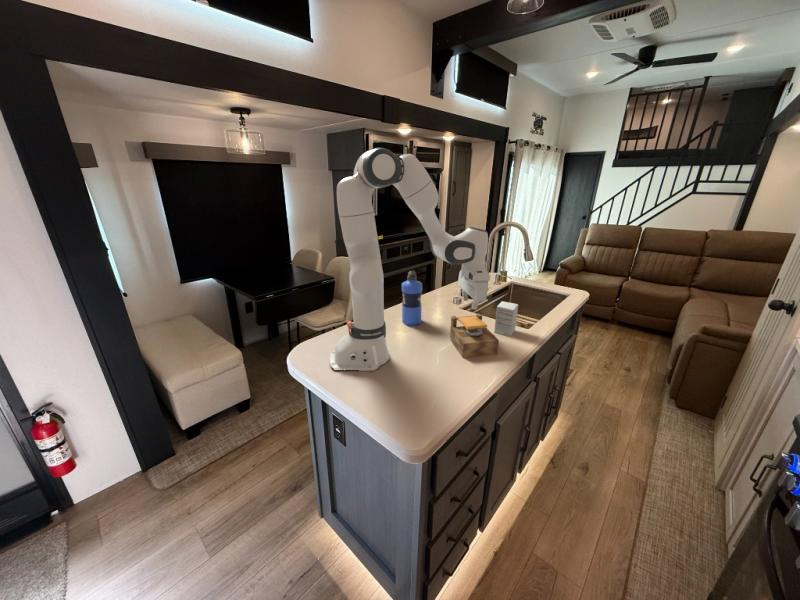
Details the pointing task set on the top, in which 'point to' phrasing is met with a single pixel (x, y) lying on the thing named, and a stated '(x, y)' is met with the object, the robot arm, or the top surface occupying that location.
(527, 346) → the top surface
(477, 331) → the grey light bulb
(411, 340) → the top surface
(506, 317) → the supplement box
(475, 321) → the orange rectangular panel
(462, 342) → the block
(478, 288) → the robot arm
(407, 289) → the water bottle
